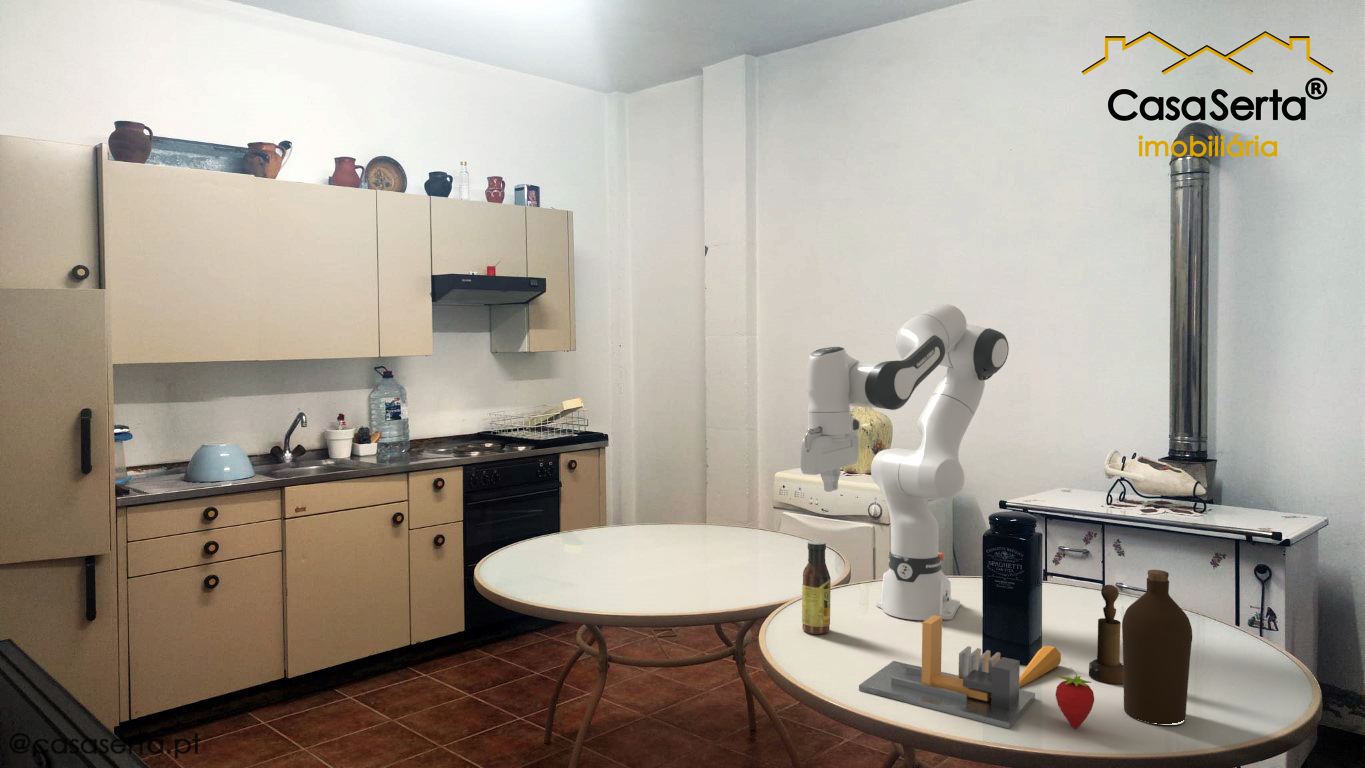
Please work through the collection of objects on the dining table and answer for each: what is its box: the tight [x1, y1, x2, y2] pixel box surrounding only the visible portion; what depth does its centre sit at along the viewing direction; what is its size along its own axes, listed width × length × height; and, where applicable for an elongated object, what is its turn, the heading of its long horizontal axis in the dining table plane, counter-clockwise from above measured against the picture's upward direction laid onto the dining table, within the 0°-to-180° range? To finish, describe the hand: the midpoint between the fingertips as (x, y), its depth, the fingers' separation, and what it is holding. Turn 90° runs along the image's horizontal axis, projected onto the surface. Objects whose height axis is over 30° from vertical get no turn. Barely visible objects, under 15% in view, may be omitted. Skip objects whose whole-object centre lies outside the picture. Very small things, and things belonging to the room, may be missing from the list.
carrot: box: [1019, 645, 1062, 688], centre depth 168 cm, size 20×4×4 cm, turn 136°
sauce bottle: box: [801, 540, 832, 635], centre depth 194 cm, size 7×6×20 cm
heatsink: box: [858, 645, 1036, 729], centre depth 159 cm, size 16×27×8 cm, turn 54°
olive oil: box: [1121, 569, 1193, 724], centre depth 150 cm, size 11×11×25 cm
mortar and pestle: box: [1088, 584, 1124, 685], centre depth 167 cm, size 7×6×18 cm
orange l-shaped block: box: [921, 615, 992, 701], centre depth 157 cm, size 6×12×12 cm, turn 54°
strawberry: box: [1054, 666, 1095, 729], centre depth 145 cm, size 6×8×10 cm
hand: (831, 490), depth 183 cm, fingers closed
